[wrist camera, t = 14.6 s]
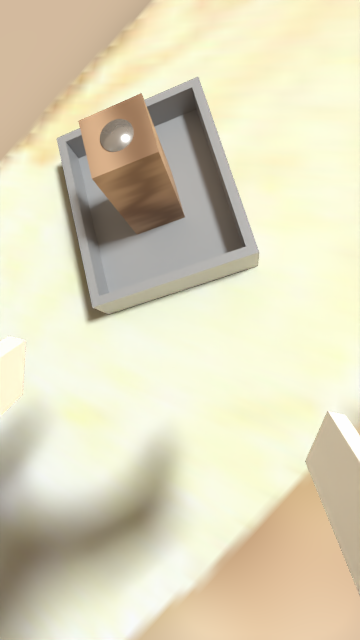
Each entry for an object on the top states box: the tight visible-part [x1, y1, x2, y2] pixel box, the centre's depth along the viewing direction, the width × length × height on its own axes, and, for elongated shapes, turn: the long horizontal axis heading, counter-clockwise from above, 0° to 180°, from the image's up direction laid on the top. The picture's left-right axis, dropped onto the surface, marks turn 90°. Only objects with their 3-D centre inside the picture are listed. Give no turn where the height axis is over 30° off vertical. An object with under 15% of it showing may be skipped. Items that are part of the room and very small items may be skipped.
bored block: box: [79, 93, 185, 234], centre depth 31 cm, size 6×6×11 cm
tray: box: [57, 77, 259, 314], centre depth 36 cm, size 18×22×4 cm
